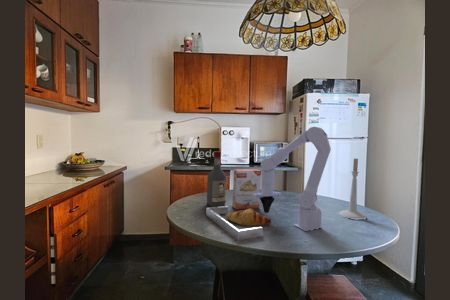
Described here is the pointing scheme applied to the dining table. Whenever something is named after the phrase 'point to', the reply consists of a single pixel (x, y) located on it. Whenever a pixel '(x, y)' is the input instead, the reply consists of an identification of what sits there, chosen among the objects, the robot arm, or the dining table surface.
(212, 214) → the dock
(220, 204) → the liquor
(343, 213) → the candlestick
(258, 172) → the cracker box
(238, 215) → the croissant
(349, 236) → the dining table surface
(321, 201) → the dining table surface
